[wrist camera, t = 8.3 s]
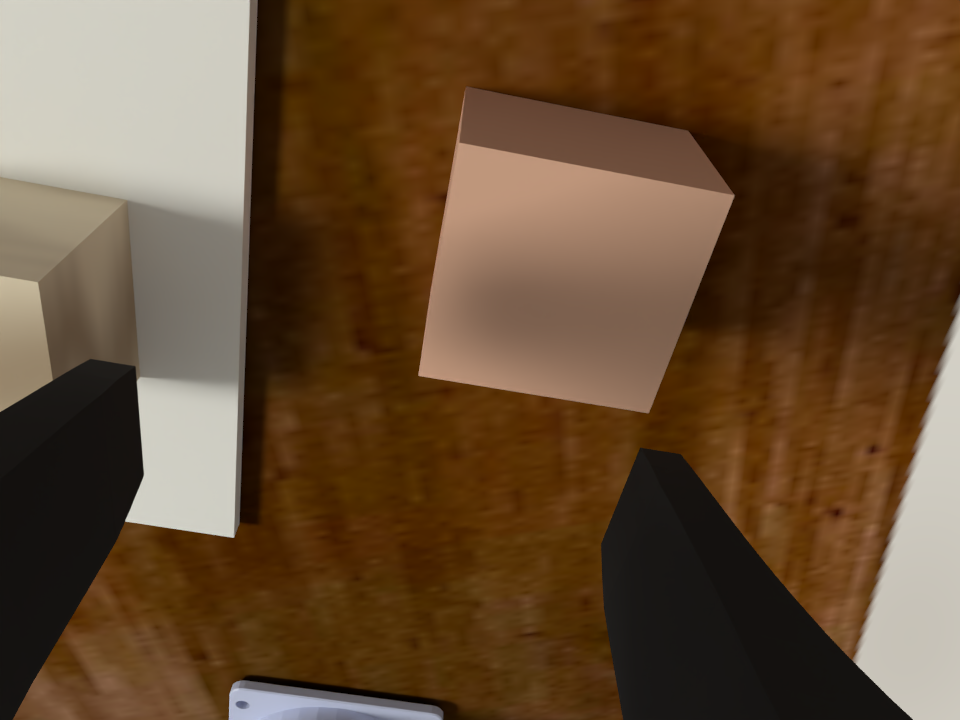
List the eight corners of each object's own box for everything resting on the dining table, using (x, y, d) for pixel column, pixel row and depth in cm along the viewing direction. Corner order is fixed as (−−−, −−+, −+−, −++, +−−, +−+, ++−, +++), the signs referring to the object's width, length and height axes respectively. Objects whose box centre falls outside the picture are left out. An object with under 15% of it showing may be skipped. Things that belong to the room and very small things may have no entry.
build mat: (239, 523, 24) (234, 537, 23) (-96, 472, 23) (-110, 485, 22) (258, -39, 15) (250, -36, 14) (-285, -161, 14) (-314, -162, 13)
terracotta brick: (621, 318, 20) (648, 413, 16) (431, 285, 19) (418, 375, 16) (687, 129, 17) (734, 195, 13) (466, 84, 16) (459, 143, 13)
